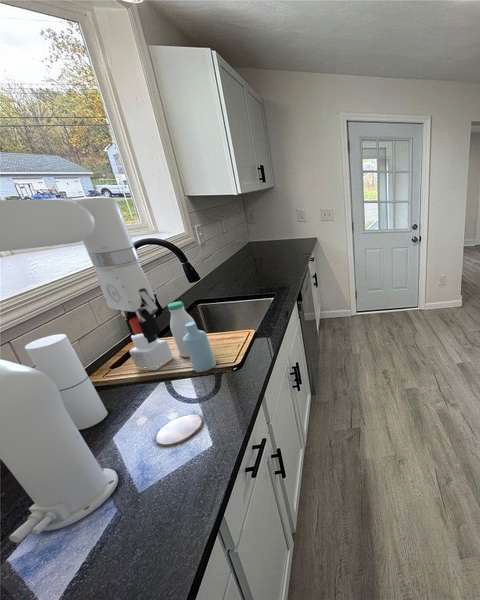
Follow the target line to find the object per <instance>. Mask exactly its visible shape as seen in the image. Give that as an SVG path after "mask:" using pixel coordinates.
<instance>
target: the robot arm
mask: <svg viewBox="0 0 480 600" xmlns="http://www.w3.org/2000/svg"><path fill="white" fill-rule="evenodd" d="M81 242H82V243H83V246H84V247H85V250H86V252H87V254H88V257H89V259H90V261H91V263H92V266H93V268H94V270H95V273H96V278H97V280H98V284H99V287H100V289H101V293H102V295H103V298H104V301H105V303H106V305H107V307H108V308H109V309H112V310H115V311H118V312H120V313H121V317H122V319H123V320H124V321H125V324H126V326H127V329H128V331H129V333H130V335H131V336H132V335H137V334H134V332H133V330H132V327H131V325H130V323H129V320H130V319H132V318H134V317H137V316H138V318H139V320H140V322H139V325H140V328H141V330H142V333H143V335H144V337H145V338H149V337H151V336H154V335H158V334H160V333H161V330H160V327H159V324H158V322H157V320H156V318H157V317H156V312H157V311H158V309H159V308H158V306H157V304H156V297H155V295H154V292H153V289H152V287H151V284H150V282H149V280H148V278H147V276H146V274H145V272H144V270H143V268H142V266H141V264H140V263H139V262H140V257H139V255H138V253H137V249H136V247H135V244H134V242H133V239H132V236H131V234H130V231H129V228H128V226H127V223H126V220H125V217H124V215H123V212H122V210H121V208H120V205H119V203H118V201H117V200H116V199H115V198H113V197H110V196H90V197H80V198H73V199H71V200H70V199H65V198H42V199H41V198H40V199H39V198H38V199H6V200H5V199H4V200H3V199H2V200H0V252H10V251H20V250H21V251H22V250H29V249H38V248H46V247H54V246H62V245H70V244H76V243H81ZM142 305H144V306H142ZM142 311H143V313H142ZM0 461H2V463H3V464H4V466H6V467H7V469H8V470H9V472H10V473H11V474H12V475H13V477H14V479H16V481H17V482H18V483H19V485H20V486H21V487H22V488H23V490H24V491H25V493H26V494H27V495H28V496H29V498H30V499H31V500H32V501H33V503H32V505H31V506H29V508H28V510H29V512H30V513H31V514H30V515H29V516H27V520H26V521H25V522H24V523H23V524H21V525H20V526H19V527H18V528H16V530H14V532H13V533H11V534H10V535H9V536H8V539H9V540H10V541H11V542H12V543H16V544H17V543H21V542H22V541H23V540H24V539H26V537H27V536H28V535H29V534H30V533H33V534H34V535H39V534H41V533H42V531H47V532H49V531H54V530H59V529H62V528H65V527H68V526H70V525H72V524H74V523H77V522H78V521H80V520H82V519H83V518H85V517H87V516H89V515H90V514H91V513H93V512H94V511H95V510H96V509H98V508H99V507H100V506H101V505H103V504H104V503H105V502H106V501H107V499H109V497H111V495H112V494H113V492H114V491H115V489H116V487H118V483H119V476H118V474H117V472H116V471H115V469H111V468H107V467H104V468H102V467H101V466H100V464H99V462H98V461H97V459H96V458H95V456H94V454H93V453H92V451H91V449H90V447H89V445H88V444H87V443H86V441H85V439H84V437H83V435H82V434H81V432H80V431H79V430H78V429H77V428H76V426H75V425H74V423H73V421H72V419H71V418H70V416H69V414H68V412H67V411H66V408H65V406H64V404H63V401H62V398H61V395H60V393H59V390H58V388H57V386H56V384H55V383H54V382H53V380H52V379H51V378H49V377H48V376H47V375H46V374H44V373H42V372H40V371H39V370H38V369H37V368H33V367H31V366H26V365H24V364H20V363H16V362H14V361H13V362H12V361H9V360H6V359H0Z"/></svg>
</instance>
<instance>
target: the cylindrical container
mask: <svg viewBox="0 0 480 600" xmlns="http://www.w3.org/2000/svg"><path fill="white" fill-rule="evenodd" d="M73 347H74V346H73V345H72V344H71V342H70V340H69V338H68V336H67V335H66V334H65V333H58V334H51V335H47V336H44V337H40V338H38V339H35V340H33V341H31V342H29V343H27V344H25V346H24V350H26V352H27V354H28V357H30V359H31V360H32V362H33V364H34V366H35V368H36V370H38V371H40V372H42V373H44V374H46V375H47V376H48V377H49V378H51V379H52V380H53V382H54V383H55V384H56V386H57V388H58V390H59V393H60V395H61V398H62V401H63V404H64V406H65V408H66V411H67V412H68V414H69V416H70V418H71V419H72V421H73V423H74V425H75V426H76V428H77V429H78V431H79V430H85V429H88V428H91V427H93V426H95V425H97V424H99V423H101V422H102V421H103V420H104V419H105V418H106V417H107V416H108V413H109V412H108V410H107V409H106V407H105V405H104V403H103V400H102V398H100V396H99V394H98V392H97V390H96V387H94V384H93V383H92V381H91V379H90V377H89V375H88V373H87V372H86V369H85V368H84V366H83V364H82V362H81V360H80V359H79V356H78V354H77V353H76V350H75V349H74V348H73Z"/></svg>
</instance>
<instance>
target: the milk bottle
mask: <svg viewBox="0 0 480 600" xmlns="http://www.w3.org/2000/svg"><path fill="white" fill-rule="evenodd" d="M167 309H168V312H170V319H169V320H170V321H169V328H170V332H171V335H172V337H173V340H174V342H175V345H176V347H177V350H178V353H179V355H180V357H182V358H190V357H189V354H188V352H187V349H186V346H185V344H184V341H183V338H184V336H185V335H186V334H187V333H188V331H187V329H186V327H185V325H186V324H187V323H190V322H195V320H194V318H193V317H192V316H191V315H190V314H189V313H188V312H187V311H186V309H185V304H184V302H183V301H173V302H171V303H168V304H167ZM195 323H196V322H195Z"/></svg>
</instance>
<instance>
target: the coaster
mask: <svg viewBox="0 0 480 600" xmlns="http://www.w3.org/2000/svg"><path fill="white" fill-rule="evenodd" d="M202 426H203V419H202V417H201V416H200V415H198V414H187V415H182V416H180V417H177V418H174V419H172V420H171V421H169V422H167V423H166V424H165V425H164V426H162V427H161V429H159V431H158V432H157V434H156V435H155V441H156V443H157V444H158V445H159V446H161V447H170V446H171V447H172V446H175V445H179V444H181V443H183V442H185V441H187V440H188V439H189V440H190V438H192V437H193V436H194V435H196V434H197V433H198V432H199V430H200V429H201V428H202Z"/></svg>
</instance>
